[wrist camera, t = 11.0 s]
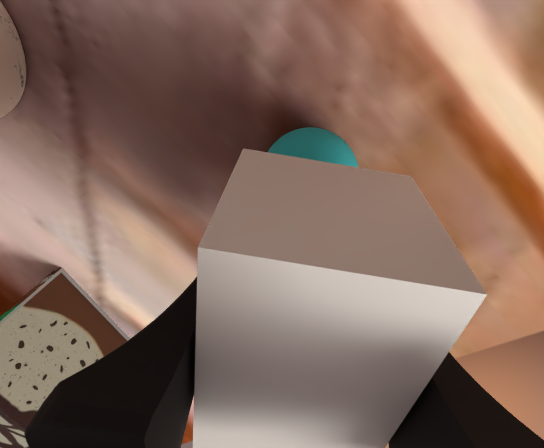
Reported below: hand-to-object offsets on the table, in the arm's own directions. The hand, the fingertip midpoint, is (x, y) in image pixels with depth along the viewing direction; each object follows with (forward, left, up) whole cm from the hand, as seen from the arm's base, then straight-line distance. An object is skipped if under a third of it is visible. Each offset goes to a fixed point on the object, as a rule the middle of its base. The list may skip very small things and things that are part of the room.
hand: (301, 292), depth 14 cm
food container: (+17, +16, -9) cm, 25 cm away
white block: (0, 0, -2) cm, 2 cm away
